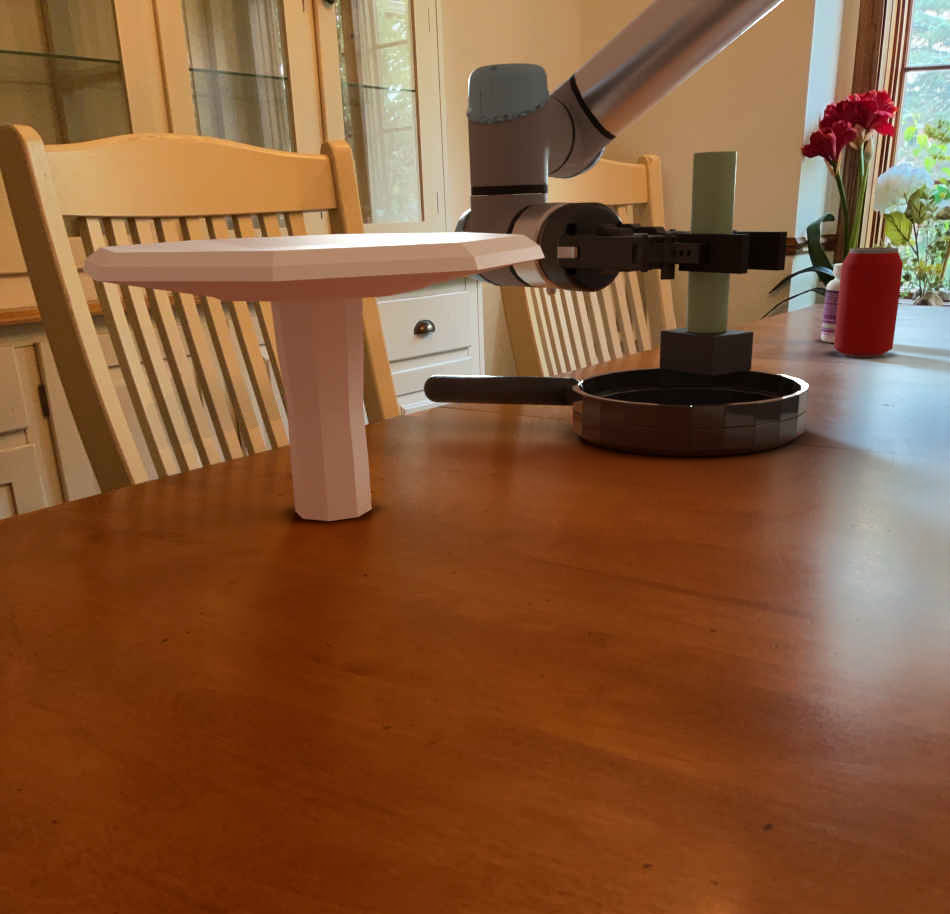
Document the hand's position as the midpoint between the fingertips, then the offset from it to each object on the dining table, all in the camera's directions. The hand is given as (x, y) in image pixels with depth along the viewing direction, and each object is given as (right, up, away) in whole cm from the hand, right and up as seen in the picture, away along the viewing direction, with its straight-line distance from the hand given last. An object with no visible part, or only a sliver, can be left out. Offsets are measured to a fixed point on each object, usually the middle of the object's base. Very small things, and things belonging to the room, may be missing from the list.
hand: (763, 252), depth 77 cm
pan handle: (-19, -8, +15) cm, 25 cm away
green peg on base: (-3, -7, +8) cm, 11 cm away
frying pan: (-3, -11, +11) cm, 16 cm away
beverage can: (+26, +6, +49) cm, 56 cm away
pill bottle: (+27, +10, +60) cm, 67 cm away
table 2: (-31, -20, -8) cm, 37 cm away
